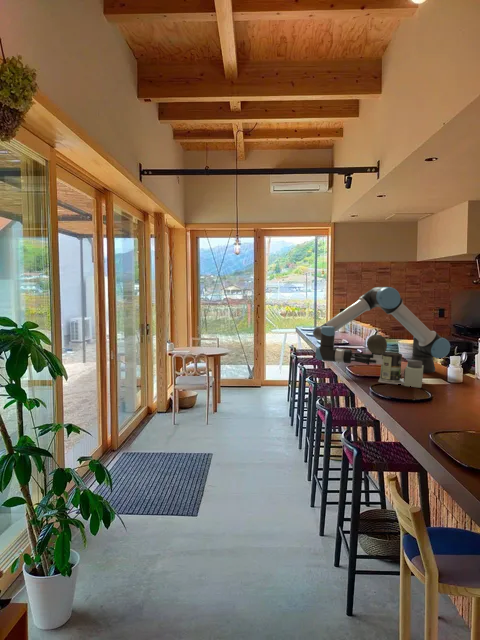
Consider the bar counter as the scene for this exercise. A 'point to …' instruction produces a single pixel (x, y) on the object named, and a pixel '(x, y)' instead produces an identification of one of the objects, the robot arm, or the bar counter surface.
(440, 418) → the bar counter surface
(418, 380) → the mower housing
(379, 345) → the cantaloupe
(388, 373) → the coffee can
